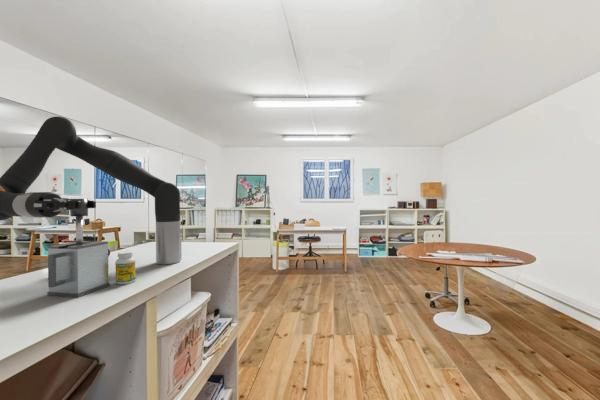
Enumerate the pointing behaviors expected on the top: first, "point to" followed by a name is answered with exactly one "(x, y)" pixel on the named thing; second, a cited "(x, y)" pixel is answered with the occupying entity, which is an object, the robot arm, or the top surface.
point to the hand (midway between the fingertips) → (87, 204)
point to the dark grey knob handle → (79, 218)
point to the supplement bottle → (125, 268)
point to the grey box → (77, 268)
